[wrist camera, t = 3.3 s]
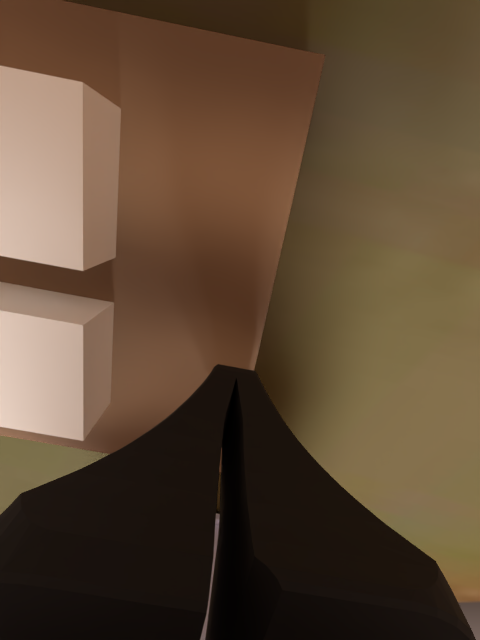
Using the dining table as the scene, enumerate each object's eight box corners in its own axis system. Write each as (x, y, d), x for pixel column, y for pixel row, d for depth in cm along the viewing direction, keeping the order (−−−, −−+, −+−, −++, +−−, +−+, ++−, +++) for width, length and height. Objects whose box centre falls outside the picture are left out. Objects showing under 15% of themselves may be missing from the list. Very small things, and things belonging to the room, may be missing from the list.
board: (234, 425, 16) (230, 474, 13) (-29, 379, 15) (-93, 419, 12) (306, 93, 11) (325, 55, 8) (-85, 14, 10) (-213, -58, 7)
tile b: (115, 257, 10) (83, 271, 8) (-14, 233, 10) (-78, 241, 8) (120, 108, 8) (82, 82, 6) (-31, 78, 8) (-115, 42, 6)
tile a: (110, 402, 12) (83, 441, 10) (3, 384, 12) (-45, 419, 10) (113, 302, 10) (83, 325, 8) (-9, 280, 10) (-68, 298, 8)
